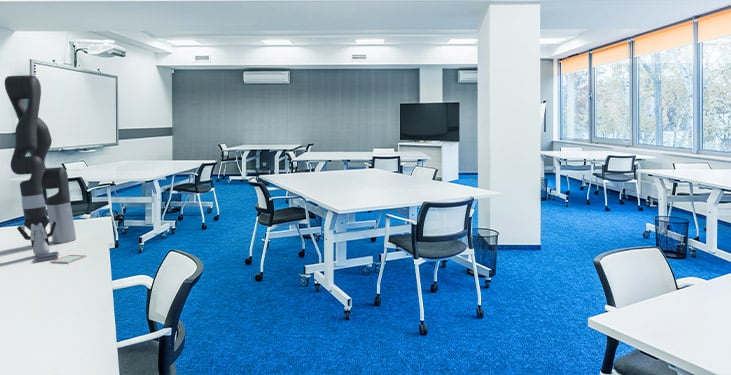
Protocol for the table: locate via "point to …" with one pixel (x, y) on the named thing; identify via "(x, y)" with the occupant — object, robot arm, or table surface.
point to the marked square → (68, 259)
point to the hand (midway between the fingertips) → (41, 247)
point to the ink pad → (47, 256)
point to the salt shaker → (39, 242)
